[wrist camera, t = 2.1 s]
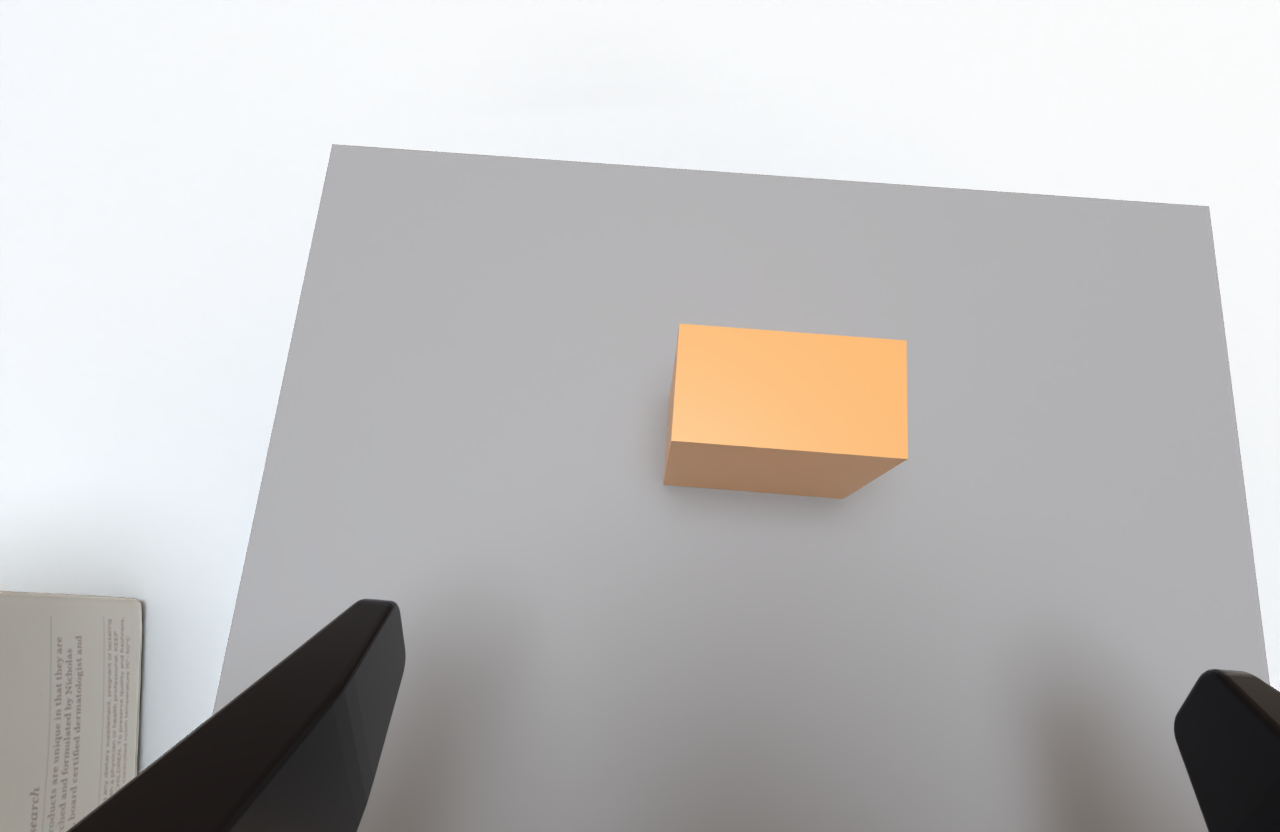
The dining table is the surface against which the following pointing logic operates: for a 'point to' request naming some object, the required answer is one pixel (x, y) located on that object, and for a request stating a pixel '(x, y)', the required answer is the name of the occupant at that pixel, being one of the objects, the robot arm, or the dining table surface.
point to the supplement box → (66, 705)
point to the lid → (758, 497)
